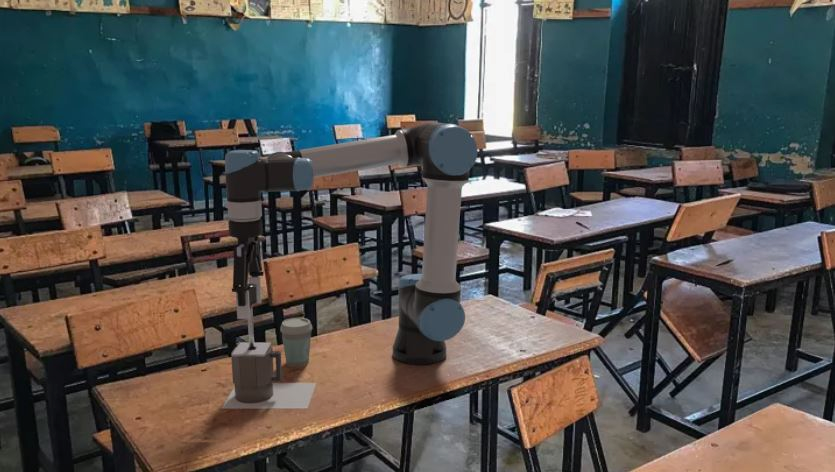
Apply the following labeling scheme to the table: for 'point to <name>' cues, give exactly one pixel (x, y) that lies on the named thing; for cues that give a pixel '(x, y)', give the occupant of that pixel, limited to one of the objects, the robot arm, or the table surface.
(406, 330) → the robot arm
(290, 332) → the coffee cup
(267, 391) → the grey french press
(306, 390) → the mat
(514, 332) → the table surface
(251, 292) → the plunger
